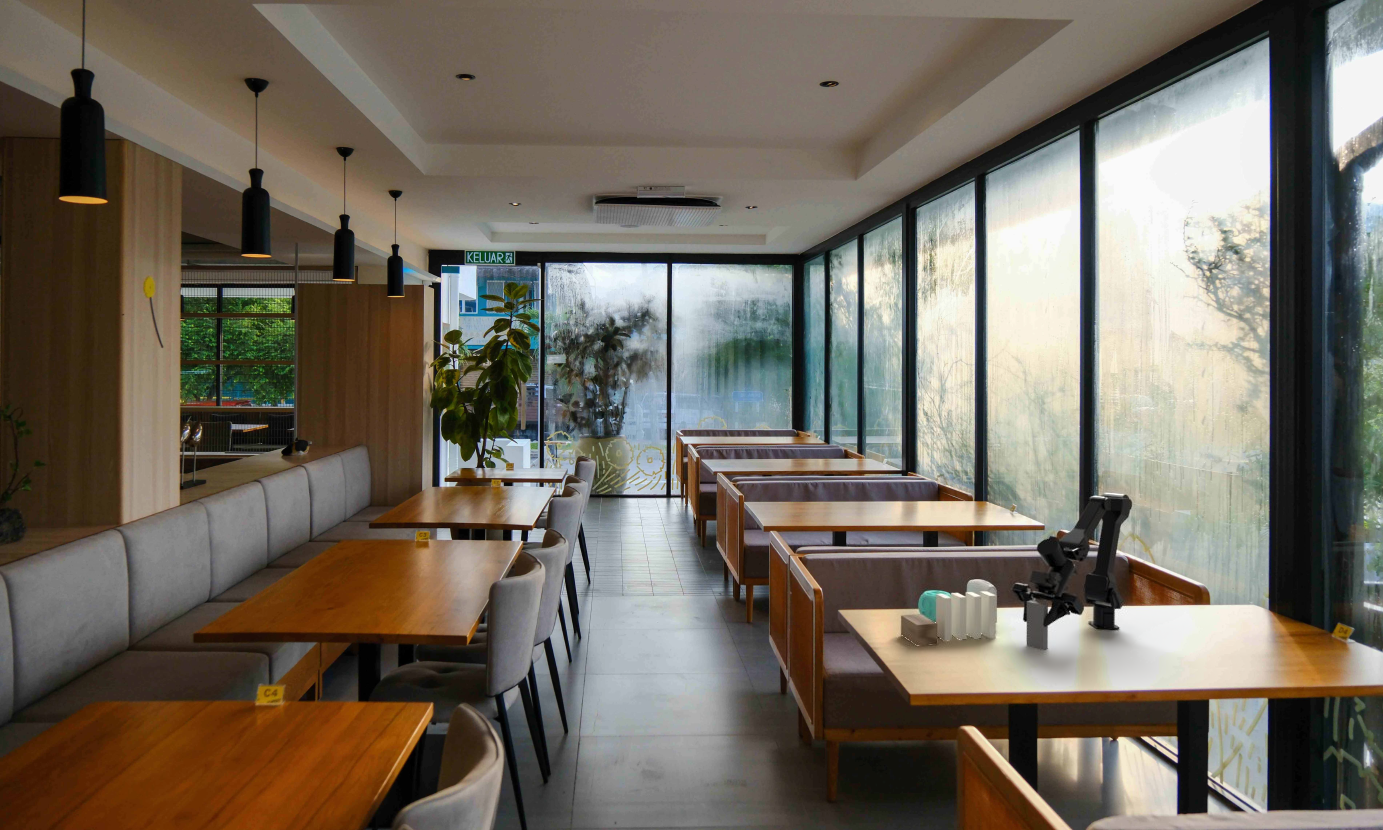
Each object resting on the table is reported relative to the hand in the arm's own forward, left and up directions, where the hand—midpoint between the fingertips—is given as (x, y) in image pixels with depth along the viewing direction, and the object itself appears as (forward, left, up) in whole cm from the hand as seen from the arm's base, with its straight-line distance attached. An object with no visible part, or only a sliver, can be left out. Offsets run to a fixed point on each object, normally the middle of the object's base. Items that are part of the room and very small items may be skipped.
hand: (1034, 623), depth 226 cm
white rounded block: (-26, -7, -7) cm, 28 cm away
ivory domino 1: (-7, -22, -7) cm, 24 cm away
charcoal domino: (-1, +1, -7) cm, 7 cm away
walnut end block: (-5, -30, -7) cm, 31 cm away
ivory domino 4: (-11, -9, -7) cm, 16 cm away
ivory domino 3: (-10, -14, -7) cm, 18 cm away
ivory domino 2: (-8, -18, -7) cm, 21 cm away
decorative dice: (-27, -20, -7) cm, 34 cm away
